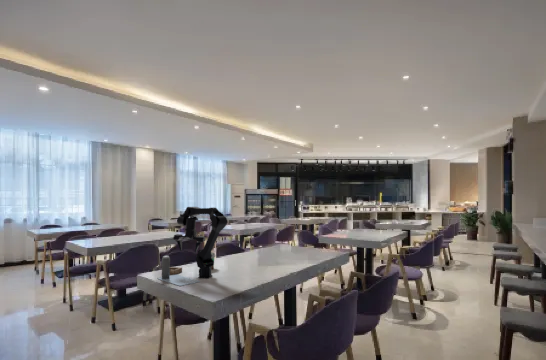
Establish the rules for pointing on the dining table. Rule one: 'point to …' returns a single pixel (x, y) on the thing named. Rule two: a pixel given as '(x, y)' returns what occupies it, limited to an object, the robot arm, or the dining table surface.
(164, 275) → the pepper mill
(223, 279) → the dining table surface
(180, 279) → the placemat
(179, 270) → the walnut holder
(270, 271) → the dining table surface
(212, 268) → the food container
